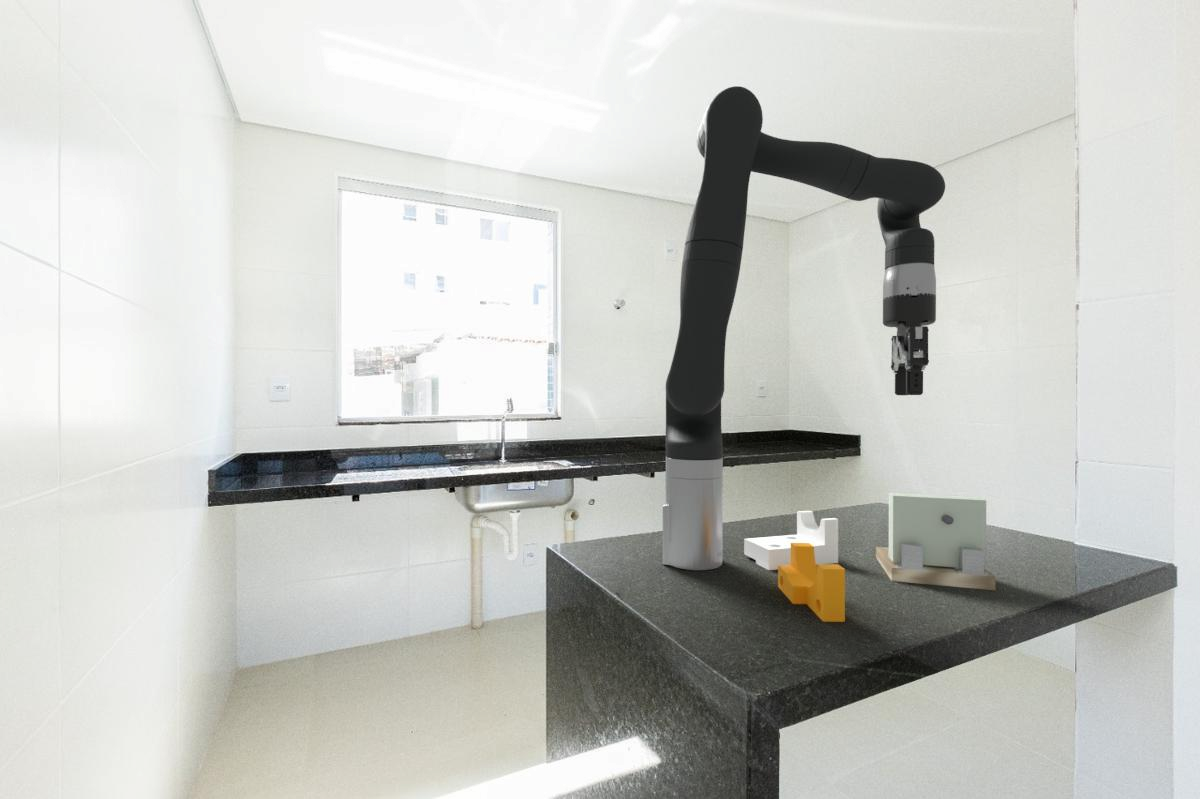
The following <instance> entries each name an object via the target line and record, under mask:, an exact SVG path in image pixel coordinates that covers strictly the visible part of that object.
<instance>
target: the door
mask: <svg viewBox="0 0 1200 799" xmlns="http://www.w3.org/2000/svg"><path fill="white" fill-rule="evenodd" d="M901 543H912V544H921V545H922V546H923V565H931V566H944V567H956V568H960V547H967V548H981V549H982V550H984V570H987V500H986V499H985V498H982V497H981V496H969V495H949V494H947V495H946V494H931V493H930V494H927V493H907V492H905V493H904V492H888V548H889V558H890V559H891V561H892V562H894V563H900V559H901Z"/></svg>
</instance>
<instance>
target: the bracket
mask: <svg viewBox="0 0 1200 799" xmlns="http://www.w3.org/2000/svg"><path fill="white" fill-rule="evenodd" d="M791 543H810V544H811V545H813V546H814V556H815V563H816V566H817V564H839V518H835V517H829V518H827V517H826V518H820V523H819V525H818V524H817V523H816V520H815V516H814V511H812V510H801V511H800V510H798V511H796V534H786V535H785V534H784V535H774V536H764V537H762V536H761V537H748V538H743V552H744V554H743V555H745V556H747V557H749V558H751V559H753V560H755V564H756V565H758V566H759V567H762V568H764V569H765V570H768V571H776V570H778V565H791Z"/></svg>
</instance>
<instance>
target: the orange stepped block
mask: <svg viewBox="0 0 1200 799" xmlns="http://www.w3.org/2000/svg"><path fill="white" fill-rule="evenodd" d="M777 588H779V589H780V591H781V592H782V593H783V594H784V595H785V596H786V598H788V600H789V601H790V602H791V604H792V605H807V606H808V608H809V609H811V611H812V612H813V613H814V614H815V616H817V617H818V618H819V619H820V620H821V621H822V622H824V623H825V622H826V623H827V622H829V623H830V622H831V623H834V622H835V623H837V622H839V623H843V622H845V621H846V615H845V614H846V569H845V568H844V567H842V566H841V565H840V564H839V563H832V564H817V565H816V563H815V556H814V546H813V545H811V544H810V543H791V565H778V569H777Z"/></svg>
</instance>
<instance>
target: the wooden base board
mask: <svg viewBox="0 0 1200 799" xmlns="http://www.w3.org/2000/svg"><path fill="white" fill-rule="evenodd" d="M875 558H876V559H877V561H878V562H879V565H880V566H881V567H882V569H883V570H884V572H885V573H886V574H887V576H888V578H889V579H890V581H891V582H900V583H908V584H909V583H911V584H921V585H922V584H923V585H931V586H932V585H933V586H944V587H955V588H967V589H977V590H987V591H988V590H989V591H996V576H995V575H994V574H993V573H991V572H990V571H989V570H988V569H986V570H984V571H985V572H986V573H988V576H983V575H971V574H959V573H957V572H956V571H955V570H954V569H953V568H952V567H944V566H931V565H923V566H924V567H925V568H926V571H924V570H912V569H900V568H898V567H897V566H896V564H895V563H894V562H892V561H891V559H890V558H889V547H885V546H875Z"/></svg>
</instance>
